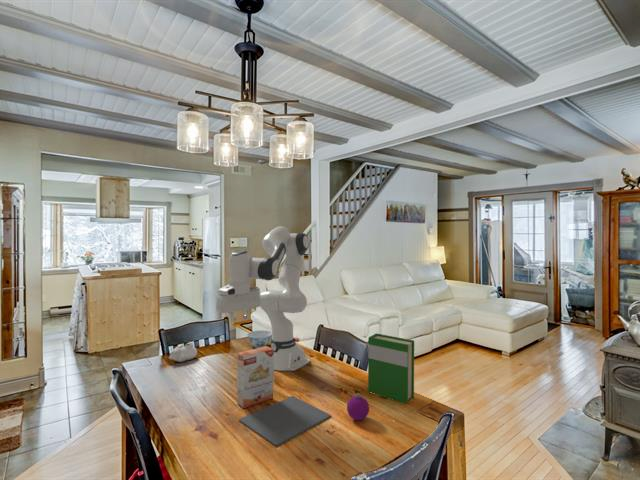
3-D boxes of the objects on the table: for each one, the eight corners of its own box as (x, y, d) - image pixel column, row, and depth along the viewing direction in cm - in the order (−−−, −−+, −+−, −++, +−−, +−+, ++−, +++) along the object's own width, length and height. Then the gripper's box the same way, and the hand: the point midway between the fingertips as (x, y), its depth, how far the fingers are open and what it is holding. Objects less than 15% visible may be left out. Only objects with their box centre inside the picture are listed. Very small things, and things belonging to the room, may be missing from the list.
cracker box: (243, 409, 134) (243, 356, 134) (236, 403, 139) (236, 352, 138) (274, 398, 143) (274, 348, 143) (266, 393, 148) (266, 345, 147)
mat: (292, 397, 144) (292, 395, 144) (331, 416, 129) (331, 415, 129) (238, 420, 126) (238, 419, 126) (276, 447, 111) (276, 445, 111)
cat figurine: (197, 339, 193) (170, 342, 182) (202, 349, 188) (175, 353, 177) (191, 352, 196) (164, 355, 185) (196, 362, 191) (169, 367, 180)
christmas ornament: (346, 412, 132) (346, 386, 132) (367, 413, 132) (367, 387, 131) (347, 424, 124) (347, 397, 124) (370, 425, 123) (370, 397, 123)
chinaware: (243, 349, 204) (243, 336, 204) (252, 342, 219) (252, 329, 219) (267, 351, 201) (267, 338, 201) (275, 343, 216) (275, 331, 216)
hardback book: (413, 397, 145) (414, 340, 144) (407, 404, 139) (407, 345, 138) (375, 386, 155) (376, 333, 155) (368, 392, 149) (368, 337, 149)
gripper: (255, 285, 158) (255, 315, 158) (214, 290, 144) (214, 323, 144) (263, 286, 154) (263, 317, 154) (222, 291, 139) (222, 326, 139)
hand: (239, 320), depth 149 cm, fingers open, 4 cm apart
